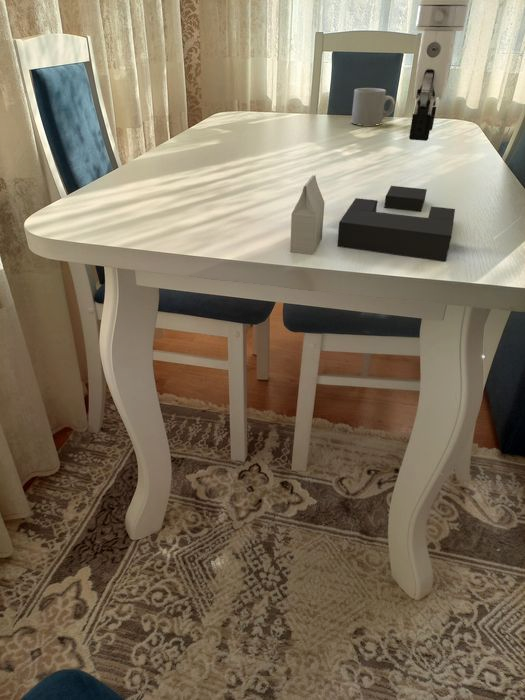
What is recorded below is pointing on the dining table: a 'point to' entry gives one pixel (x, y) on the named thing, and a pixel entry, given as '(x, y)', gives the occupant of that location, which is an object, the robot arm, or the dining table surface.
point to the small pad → (405, 198)
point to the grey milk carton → (307, 219)
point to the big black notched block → (396, 231)
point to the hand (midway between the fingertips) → (420, 134)
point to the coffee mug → (370, 106)
